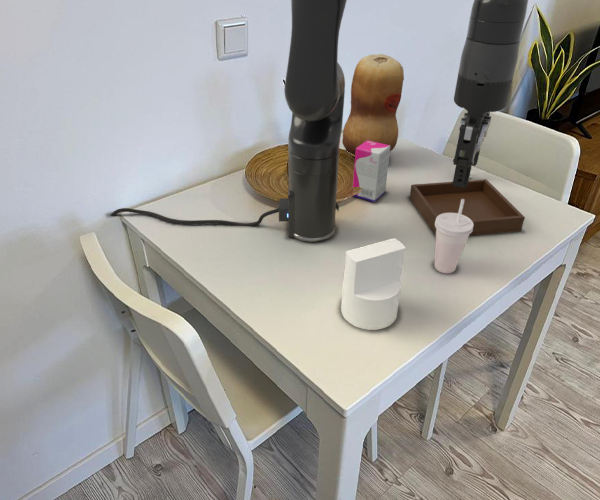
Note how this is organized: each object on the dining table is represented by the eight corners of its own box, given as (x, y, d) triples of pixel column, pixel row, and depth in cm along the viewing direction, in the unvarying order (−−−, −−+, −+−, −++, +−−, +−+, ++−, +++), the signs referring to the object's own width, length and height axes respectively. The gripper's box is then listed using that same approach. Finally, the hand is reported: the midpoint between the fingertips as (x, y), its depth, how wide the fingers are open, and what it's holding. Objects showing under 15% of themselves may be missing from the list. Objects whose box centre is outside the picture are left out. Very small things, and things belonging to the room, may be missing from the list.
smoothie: (463, 280, 89) (481, 211, 81) (426, 275, 91) (439, 206, 82) (462, 259, 95) (478, 192, 87) (426, 254, 96) (439, 188, 88)
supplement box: (386, 192, 115) (391, 144, 109) (374, 203, 111) (379, 154, 105) (363, 185, 118) (367, 138, 111) (351, 196, 114) (354, 148, 107)
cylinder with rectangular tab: (359, 336, 78) (365, 274, 71) (331, 301, 84) (334, 241, 78) (408, 319, 81) (418, 258, 74) (377, 287, 88) (384, 228, 81)
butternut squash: (369, 175, 122) (379, 68, 108) (330, 157, 131) (335, 55, 116) (406, 159, 130) (421, 57, 116) (368, 143, 138) (376, 46, 124)
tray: (437, 238, 100) (440, 224, 98) (409, 197, 114) (411, 184, 112) (520, 231, 103) (525, 217, 101) (483, 192, 116) (486, 179, 114)
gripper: (468, 57, 79) (450, 154, 89) (448, 82, 69) (431, 189, 78) (519, 63, 77) (495, 162, 86) (507, 89, 66) (481, 199, 75)
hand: (464, 174), depth 82 cm, fingers open, 8 cm apart
